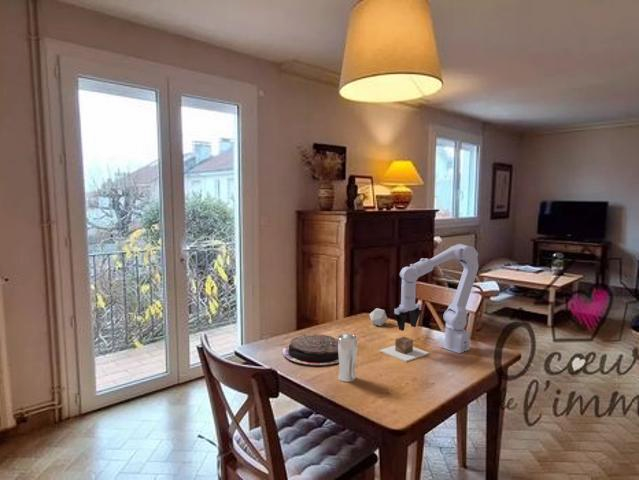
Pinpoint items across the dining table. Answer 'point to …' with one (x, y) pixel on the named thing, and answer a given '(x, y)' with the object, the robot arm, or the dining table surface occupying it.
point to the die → (378, 317)
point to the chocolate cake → (312, 350)
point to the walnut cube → (404, 345)
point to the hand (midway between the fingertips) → (407, 328)
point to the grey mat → (404, 357)
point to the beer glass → (347, 356)
